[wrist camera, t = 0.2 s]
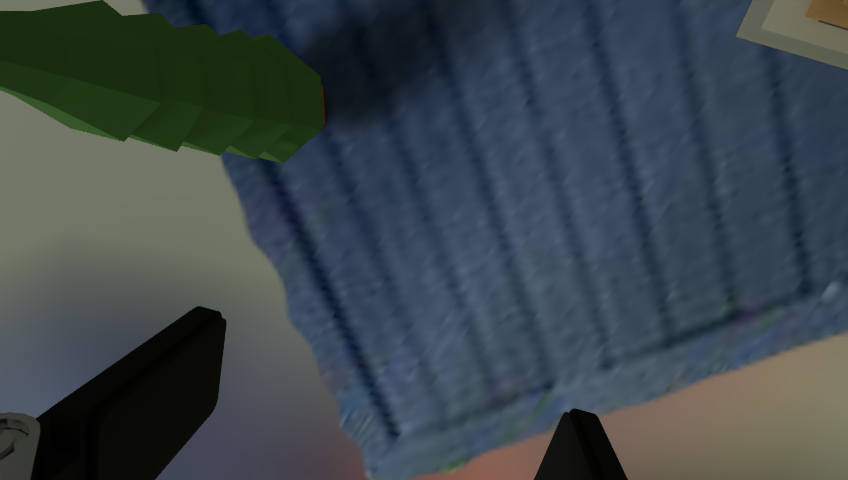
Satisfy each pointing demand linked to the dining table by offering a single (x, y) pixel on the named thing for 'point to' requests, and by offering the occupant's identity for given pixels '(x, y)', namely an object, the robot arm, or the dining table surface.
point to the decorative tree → (161, 81)
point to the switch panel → (795, 31)
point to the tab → (830, 11)
